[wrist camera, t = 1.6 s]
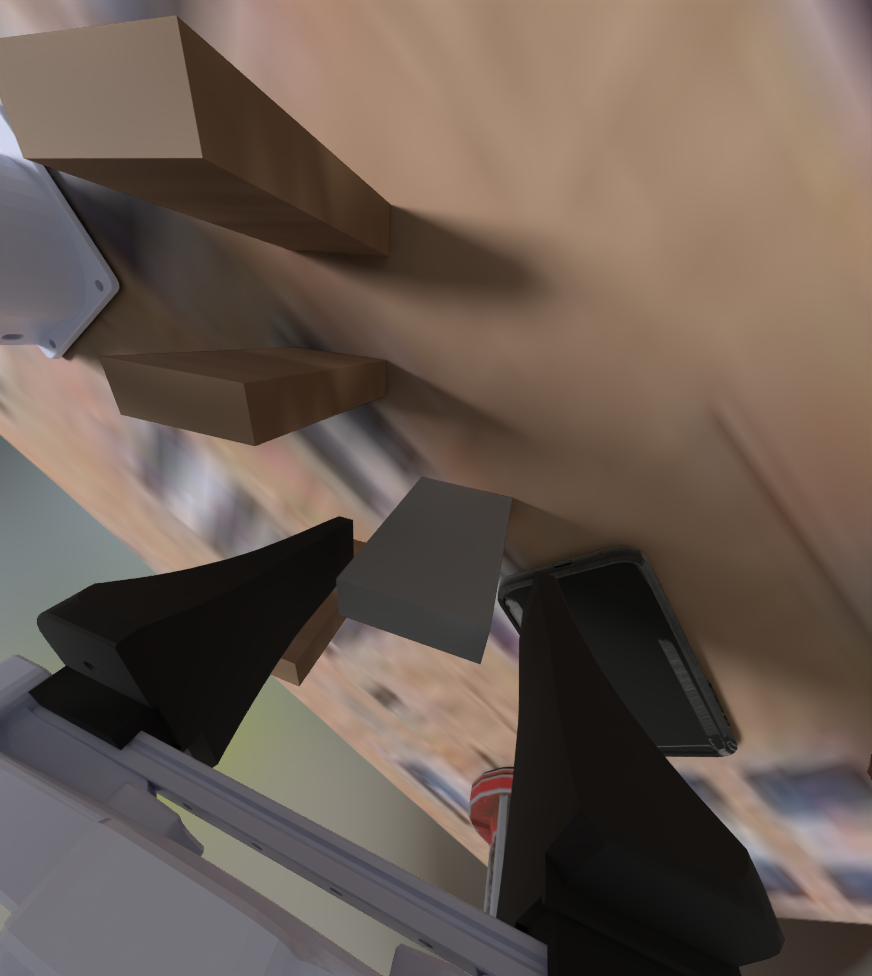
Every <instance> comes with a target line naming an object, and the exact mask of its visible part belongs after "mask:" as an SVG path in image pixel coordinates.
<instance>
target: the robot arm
mask: <svg viewBox="0 0 872 976" xmlns="http://www.w3.org/2000/svg"><path fill="white" fill-rule="evenodd" d="M118 290H119V283H118V280H117V278H116V276H115V275H114V273H113V272H112V270H111V269H110V267H109V266H108V264H107V263H106V261H105V260H104V258H103V256H102V255H101V253H100V252H99V250H98V249H97V247H96V246H95V244H94V243H93V241H92V239H91V238H90V236H89V235H88V233H87V232H86V230H85V229H84V227H83V226H82V224H81V223H80V221H79V219H78V218H77V216H76V215H75V213H74V212H73V210H72V209H71V207H70V206H69V204H68V203H67V201H66V199H65V198H64V196H63V195H62V193H61V192H60V190H59V189H58V187H57V186H56V184H55V182H54V181H53V179H52V178H51V176H50V175H49V173H48V172H47V170H46V169H45V167H44V166H43V165H41V164H38V163H35V162H33V161H30V160H27V159H24V158H23V156H22V153H21V150H20V148H19V145H18V143H17V140H16V137H15V135H14V132H13V129H12V127H11V124H10V122H9V119H8V116H7V114H6V111H5V108H4V107H3V106H2V105H0V345H33V344H37V345H38V346H39V347H40V349H41V350H42V351H43V353H44V354H45V355H46V356H47V357H49V358H51V359H59V358H60V357H61V356H62V355H63V354H64V353H65V352H66V351H67V349H68V348H69V347H70V346H71V345H72V344H73V342H74V341H75V340H76V339H77V338H78V337H79V336H80V334H81V333H82V332H83V331H84V330H85V329H86V328H87V326H88V325H89V324H90V323H91V322H92V321H93V320H94V318H95V317H96V316H97V315H98V314H99V313H100V311H101V310H102V309H103V308H104V307H105V306H106V305H107V303H108V302H109V301H110V300H111V299H112V298H113V297H114V295H115V294H116V293H117V292H118ZM353 558H354V541H353V520H351V519H347V518H344V517H340V516H339V517H336V518H334V519H331V520H329V521H326V522H324V523H322V524H319V525H317V526H315V527H312V528H310V529H308V530H305V531H303V532H301V533H298V534H296V535H294V536H291V537H289V538H287V539H284V540H281V541H279V542H276V543H274V544H271V545H268V546H266V547H263V548H261V549H258V550H255V551H252V552H249V553H246V554H243V555H239V556H236V557H233V558H230V559H226V560H223V561H219V562H214V563H210V564H206V565H202V566H198V567H194V568H190V569H186V570H181V571H176V572H171V573H165V574H160V575H154V576H148V577H142V578H135V579H127V580H120V581H112V582H104V583H95V584H93V585H91V586H89V587H87V588H86V589H84V590H82V591H80V592H78V593H77V594H75V595H73V596H72V597H70V598H68V599H66V600H64V601H62V602H60V603H59V604H57V605H55V606H53V607H51V608H50V609H48V610H46V611H44V612H42V613H41V614H40V615H39V616H38V618H37V625H38V627H39V629H40V631H41V633H42V634H43V636H44V638H45V639H46V640H47V642H48V643H49V644H50V646H51V647H52V648H53V649H54V651H55V652H56V653H57V655H58V656H59V657H60V659H61V660H62V661H63V663H64V664H65V665H66V666H65V667H63V668H62V669H61V670H59V671H58V672H56V673H55V674H53V675H52V674H51V673H50V672H49V671H48V670H46V669H45V668H43V667H42V666H40V665H38V664H36V663H34V662H32V661H30V660H28V659H26V658H24V657H22V656H21V655H12V656H11V657H9V658H7V659H6V660H4V661H2V662H1V663H0V903H1V904H2V905H3V906H5V908H6V909H8V910H9V911H10V912H11V913H12V914H11V916H9V918H8V919H7V920H6V921H5V923H4V926H3V929H2V931H1V932H0V976H382V975H381V974H379V973H378V972H376V971H375V970H373V969H372V968H370V967H369V966H367V965H366V964H365V963H363V962H362V961H360V960H359V959H357V958H356V957H354V956H353V955H351V954H350V953H348V952H347V951H345V950H344V949H342V948H341V947H340V946H338V945H337V944H335V943H334V942H332V941H331V940H329V939H328V938H326V937H325V936H323V935H322V934H320V933H319V932H318V931H316V930H315V929H313V928H312V927H310V926H309V925H307V924H305V923H304V922H303V921H301V920H300V919H298V918H297V917H295V916H294V915H292V914H291V913H289V912H288V911H286V910H285V909H283V908H281V907H280V906H279V905H277V904H275V903H274V902H273V901H271V900H269V899H268V898H266V897H264V896H263V895H262V894H260V893H259V892H257V891H255V890H254V889H252V888H251V887H249V886H247V885H246V884H244V883H243V882H241V881H240V880H238V879H237V878H235V877H233V876H232V875H230V874H228V873H227V872H225V871H223V870H222V869H220V868H219V867H217V866H215V865H214V864H212V863H210V862H209V861H207V860H205V859H204V858H202V857H201V855H202V854H203V851H204V846H203V845H202V844H201V843H200V842H198V840H197V839H196V838H194V836H193V835H192V834H191V833H190V832H189V831H188V830H187V829H186V827H185V826H184V824H183V823H182V821H181V818H180V816H179V815H178V814H177V813H176V812H174V811H173V810H172V809H170V808H169V807H168V806H166V805H165V804H164V803H162V802H161V801H160V800H158V799H157V798H156V794H157V793H158V794H159V795H161V796H163V797H165V798H166V799H168V800H170V801H172V802H173V803H175V804H177V805H178V806H180V807H182V808H184V809H186V810H187V811H189V812H191V813H192V814H194V815H196V816H197V817H199V818H201V819H203V820H204V821H206V822H208V823H210V824H211V825H213V826H215V827H217V828H219V829H220V830H222V831H223V832H225V833H227V834H229V835H230V836H232V837H234V838H236V839H237V840H239V841H241V842H242V843H244V844H246V845H248V846H249V847H251V848H253V849H255V850H256V851H258V852H260V853H261V854H263V855H265V856H267V857H268V858H270V859H272V860H273V861H275V862H277V863H279V864H281V865H282V866H284V867H286V868H287V869H289V870H291V871H293V872H294V873H296V874H298V875H299V876H301V877H303V878H305V879H306V880H308V881H310V882H312V883H313V884H315V885H317V886H318V887H320V888H322V889H324V890H326V891H327V892H329V893H330V894H332V895H334V896H336V897H337V898H339V899H341V900H343V901H344V902H346V903H348V904H349V905H351V906H353V907H355V908H356V909H358V910H360V911H362V912H364V913H365V914H367V915H369V916H370V917H372V918H374V919H375V920H377V921H379V922H381V923H382V924H384V925H386V926H387V927H389V928H391V929H393V930H394V931H396V932H398V933H400V934H401V935H403V936H405V937H407V938H408V939H410V940H412V941H413V942H415V943H417V944H419V945H420V946H422V947H424V948H426V949H427V950H429V951H431V952H432V953H434V954H436V955H438V956H439V957H441V958H443V959H444V960H446V961H448V962H450V963H451V964H450V963H448V962H445V961H443V960H441V959H438V958H436V957H433V956H431V955H428V954H426V953H423V952H421V951H419V950H416V949H414V948H411V947H409V946H406V945H404V944H400V945H399V946H398V947H396V950H395V954H394V958H393V962H392V966H391V971H390V975H389V976H469V975H468V974H467V973H469V974H470V975H472V976H741V973H740V970H739V966H743V965H747V964H750V963H754V962H758V961H762V960H765V959H769V958H771V957H773V956H775V955H777V954H779V953H780V951H781V949H782V946H783V943H784V940H785V939H784V936H783V934H782V931H781V929H780V926H779V924H778V921H777V919H776V916H775V914H774V911H773V909H772V906H771V903H770V901H769V898H768V896H767V893H766V891H765V888H764V886H763V883H762V881H761V879H760V877H759V875H758V873H757V871H756V868H755V866H754V864H753V862H752V860H751V858H750V855H749V853H748V851H747V849H746V848H745V847H744V846H743V845H742V844H741V843H740V841H739V840H738V839H737V838H736V837H735V836H734V835H733V834H732V833H731V832H730V830H729V829H728V828H727V827H726V826H725V825H724V824H723V823H722V822H721V821H720V819H719V818H718V817H717V816H716V815H715V814H714V813H713V812H712V811H711V809H710V808H709V807H708V806H707V805H706V804H705V803H704V802H703V801H702V800H701V798H700V797H699V796H698V795H697V794H696V793H695V792H694V791H693V790H692V788H691V787H690V786H689V785H688V784H687V783H686V781H685V780H684V779H683V778H682V777H681V775H680V774H679V773H678V772H677V771H676V769H675V768H674V767H673V766H672V765H671V763H670V762H669V761H668V760H667V759H666V757H665V756H664V755H663V754H662V753H661V751H660V750H659V749H658V748H657V746H656V745H655V744H654V743H653V741H652V740H651V739H650V737H649V736H648V735H647V733H646V732H645V731H644V729H643V728H642V727H641V725H640V724H639V723H638V721H637V720H636V719H635V718H634V716H633V715H632V714H631V712H630V711H629V710H628V708H627V707H626V705H625V704H624V702H623V701H622V700H621V698H620V697H619V695H618V694H617V692H616V691H615V689H614V688H613V686H612V685H611V683H610V682H609V680H608V679H607V677H606V676H605V674H604V672H603V671H602V669H601V667H600V666H599V664H598V662H597V661H596V659H595V657H594V656H593V654H592V652H591V650H590V649H589V647H588V645H587V643H586V641H585V640H584V638H583V636H582V634H581V632H580V630H579V628H578V626H577V624H576V622H575V620H574V618H573V616H572V614H571V612H570V610H569V607H568V605H567V603H566V601H565V599H564V596H563V594H562V591H561V589H560V587H559V584H558V582H557V579H556V578H555V576H553V575H549V574H546V573H542V572H538V571H536V574H535V577H534V580H533V582H532V585H531V588H530V591H529V594H528V597H527V600H526V603H525V606H524V609H523V612H522V620H521V629H520V637H519V715H518V730H517V740H516V751H515V761H514V771H513V780H512V790H511V799H510V808H509V817H508V825H507V834H506V843H505V851H504V859H503V867H502V875H501V883H500V891H499V898H498V906H497V913H496V918H495V917H493V916H491V915H489V914H487V913H485V912H483V911H481V910H480V909H478V908H476V907H474V906H472V905H470V904H468V903H466V902H464V901H463V900H461V899H459V898H457V897H455V896H453V895H451V894H449V893H447V892H446V891H444V890H442V889H440V888H438V887H436V886H434V885H432V884H430V883H428V882H427V881H425V880H423V879H421V878H419V877H417V876H415V875H413V874H411V873H409V872H408V871H405V870H404V869H402V868H400V867H398V866H396V865H394V864H393V863H391V862H389V861H387V860H385V859H383V858H381V857H379V856H377V855H376V854H374V853H372V852H370V851H368V850H366V849H364V848H362V847H360V846H359V845H357V844H355V843H353V842H351V841H349V840H347V839H345V838H343V837H341V836H340V835H338V834H336V833H334V832H332V831H330V830H328V829H326V828H325V827H322V826H321V825H319V824H317V823H315V822H313V821H311V820H309V819H308V818H306V817H304V816H302V815H300V814H298V813H296V812H294V811H292V810H291V809H289V808H287V807H285V806H283V805H281V804H279V803H277V802H275V801H273V800H272V799H270V798H268V797H266V796H264V795H262V794H260V793H258V792H256V791H255V790H253V789H250V788H249V787H247V786H245V785H243V784H241V783H239V782H238V781H236V780H234V779H232V778H230V777H228V776H226V775H224V774H222V773H221V772H219V771H217V770H215V769H213V767H214V766H216V765H217V764H218V763H219V761H220V759H221V757H222V755H223V754H224V752H225V750H226V748H227V746H228V745H229V743H230V741H231V739H232V738H233V736H234V734H235V732H236V730H237V729H238V727H239V725H240V723H241V721H242V720H243V718H244V716H245V715H246V713H247V711H248V710H249V708H250V707H251V705H252V703H253V701H254V700H255V698H256V697H257V695H258V693H259V692H260V690H261V688H262V687H263V685H264V684H265V682H266V680H267V679H268V677H269V676H270V674H271V673H272V671H273V670H274V668H275V666H276V665H277V663H278V662H279V660H280V659H281V657H282V656H283V654H284V653H285V651H286V650H287V648H288V647H289V645H290V644H291V643H292V641H293V640H294V638H295V637H296V635H297V634H298V633H299V631H300V630H301V629H302V627H303V626H304V625H305V624H306V623H307V621H308V620H309V619H310V618H311V616H312V615H313V614H314V613H315V612H316V610H317V609H318V608H319V607H320V606H321V604H322V603H323V602H324V601H325V600H326V598H327V597H328V596H329V595H330V594H331V592H332V591H333V590H334V589H335V587H336V586H337V585H336V578H337V577H338V576H339V575H340V574H341V572H342V571H343V570H344V569H345V568H346V566H347V565H348V564H349V563H350V562H351V560H352V559H353ZM452 964H453V965H452ZM454 965H455V966H457V967H458V968H457V967H455V966H454ZM459 968H460V969H462V970H463V971H462V970H460V969H459ZM464 971H465V972H467V973H465V972H464Z"/></svg>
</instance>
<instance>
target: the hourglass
mask: <svg viewBox="0 0 872 976" xmlns="http://www.w3.org/2000/svg"><path fill="white" fill-rule="evenodd" d="M513 771H514V768H502V769H498V770H495V771H491V772H487V773H484V774H482V775H481V776H480V777H479V778H478V779H477V780H476V781H475V782H474V783H473V784H472V790H471V797H470V804H469V813H468V816H469V818H470V820H471V822H472V824H473V826H474V828H475V830H476V831H477V832H478V834H479V835H480V836H481V837H482V838H483V839H484V840H485V841H486V842H487V843H488V844H489V845H490V852H489V862H488V872H487V882H486V892H485V903H484V912H485V913H487V914H489V915H491V916H493V917H495V918H496V913H497V906H498V898H499V891H500V883H501V875H502V867H503V859H504V851H505V843H506V834H507V825H508V817H509V808H510V799H511V790H512V780H513Z"/></svg>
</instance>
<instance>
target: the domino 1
mask: <svg viewBox="0 0 872 976" xmlns="http://www.w3.org/2000/svg"><path fill="white" fill-rule="evenodd" d="M0 98H1V101H2V103H3V106H4V108H5V111H6V114H7V116H8V119H9V122H10V124H11V127H12V129H13V132H14V135H15V137H16V140H17V143H18V145H19V148H20V150H21V153H22V156H23V158H24V159H27V160H30V161H33V162H35V163H38V164H41V165H44V166H47V167H50V168H53V169H56V170H59V171H62V172H65V173H67V174H70V175H73V176H76V177H79V178H82V179H85V180H88V181H91V182H94V183H96V184H99V185H102V186H105V187H108V188H111V189H114V190H117V191H120V192H123V193H126V194H128V195H131V196H134V197H137V198H140V199H143V200H146V201H149V202H152V203H155V204H158V205H160V206H163V207H166V208H169V209H172V210H175V211H178V212H181V213H184V214H187V215H190V216H192V217H195V218H198V219H201V220H204V221H207V222H210V223H213V224H216V225H219V226H222V227H224V228H227V229H230V230H233V231H236V232H239V233H242V234H245V235H248V236H251V237H253V238H256V239H259V240H262V241H265V242H268V243H271V244H274V245H277V246H280V247H283V248H285V249H290V250H304V251H318V252H332V253H346V254H360V255H374V256H388V257H389V252H390V212H391V204H389V203H388V202H387V201H386V200H385V199H384V198H383V197H382V196H380V195H379V194H378V193H377V192H376V191H375V190H374V189H372V188H371V187H370V186H369V185H368V184H367V183H366V182H365V181H363V180H362V179H361V178H360V177H359V176H358V175H357V174H355V173H354V172H353V171H352V170H351V169H350V168H349V167H348V166H346V165H345V164H344V163H343V162H342V161H341V160H340V159H338V158H337V157H336V156H335V155H334V154H333V153H332V152H331V151H329V150H328V149H327V148H326V147H325V146H324V145H323V144H321V143H320V142H319V141H318V140H317V139H316V138H315V137H314V136H312V135H311V134H310V133H309V132H308V131H307V130H306V129H304V128H303V127H302V126H301V125H300V124H299V123H298V122H297V121H295V120H294V119H293V118H292V117H291V116H290V115H289V114H287V113H286V112H285V111H284V110H283V109H282V108H281V107H280V106H278V105H277V104H276V103H275V102H274V101H273V100H272V99H270V98H269V97H268V96H267V95H266V94H265V93H264V92H263V91H261V90H260V89H259V88H258V87H257V86H256V85H255V84H254V83H252V82H251V81H250V80H249V79H248V78H247V77H246V76H244V75H243V74H242V73H241V72H240V71H239V70H238V69H237V68H235V67H234V66H233V65H232V64H231V63H230V62H229V61H227V60H226V59H225V58H224V57H223V56H222V55H221V54H220V53H218V52H217V51H216V50H215V49H214V48H213V47H212V46H210V45H209V44H208V43H207V42H206V41H205V40H204V39H203V38H201V37H200V36H199V35H198V34H197V33H196V32H195V31H193V30H192V29H191V28H190V27H189V26H188V25H187V24H186V23H184V22H183V21H182V20H181V19H180V18H179V17H178V16H169V17H161V18H154V19H146V20H138V21H130V22H122V23H115V24H107V25H99V26H91V27H83V28H76V29H68V30H60V31H52V32H44V33H36V34H29V35H21V36H13V37H5V38H0Z"/></svg>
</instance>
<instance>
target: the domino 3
mask: <svg viewBox="0 0 872 976" xmlns="http://www.w3.org/2000/svg"><path fill="white" fill-rule="evenodd" d="M353 541H354V557H355V556H356V555H357V553H358V552H359V551H360V550H361V549H362V547H363V546H364V545H365V544H366V543H364V542H361V541H357V540H354V539H353ZM346 618H347V617H344V616H341V615H339V614H338V600H337V586H336V587H335V589H334V590H333V591H332V592H331V594H330V595H329V596H328V597H327V598H326V600H325V601H324V602H323V603H322V604H321V606H320V607H319V608H318V609H317V610H316V612H315V613H314V614H313V615H312V616H311V618H310V619H309V620H308V621H307V623H306V624H305V625H304V626H303V627H302V629H301V630H300V631H299V633H298V634H297V635H296V637H295V638H294V640H293V641H292V643H291V644H290V645H289V647H288V648H287V650H286V651H285V653H284V654H283V656H282V657H281V659H280V660H279V662H278V663H277V665H276V666H275V668H274V670H273V671H272V673H271V675H273V676H275V677H278V678H280V679H283V680H285V681H287V682H290V683H292V684H295V685H297V686H300V685H301V683H302V682H303V680H304V679H305V677H306V676H307V674H308V673H309V672H310V670H311V669H312V667H313V666H314V664H315V663H316V661H317V660H318V658H319V657H320V656H321V654H322V653H323V651H324V650H325V648H326V647H327V645H328V644H329V642H330V641H331V639H332V638H333V637H334V635H335V634H336V632H337V631H338V629H339V628H340V626H341V625H342V623H343V622H344V621H345V619H346Z"/></svg>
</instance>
